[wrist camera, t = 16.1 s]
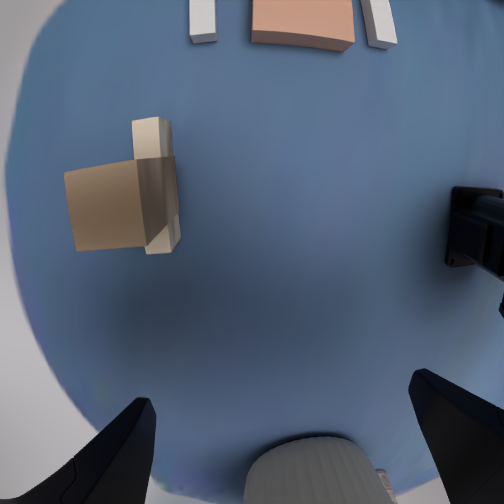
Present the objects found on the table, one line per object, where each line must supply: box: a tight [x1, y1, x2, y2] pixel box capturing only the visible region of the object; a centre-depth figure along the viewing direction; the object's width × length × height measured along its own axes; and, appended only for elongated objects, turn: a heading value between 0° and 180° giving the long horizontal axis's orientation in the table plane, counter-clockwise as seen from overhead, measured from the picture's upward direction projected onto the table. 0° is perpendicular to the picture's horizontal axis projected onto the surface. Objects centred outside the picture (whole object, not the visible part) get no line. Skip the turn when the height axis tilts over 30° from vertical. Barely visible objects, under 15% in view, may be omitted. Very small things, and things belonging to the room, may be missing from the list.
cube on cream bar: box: [64, 117, 181, 254], centre depth 14 cm, size 8×3×9 cm, turn 3°
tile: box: [251, 0, 355, 52], centre depth 14 cm, size 6×6×2 cm
